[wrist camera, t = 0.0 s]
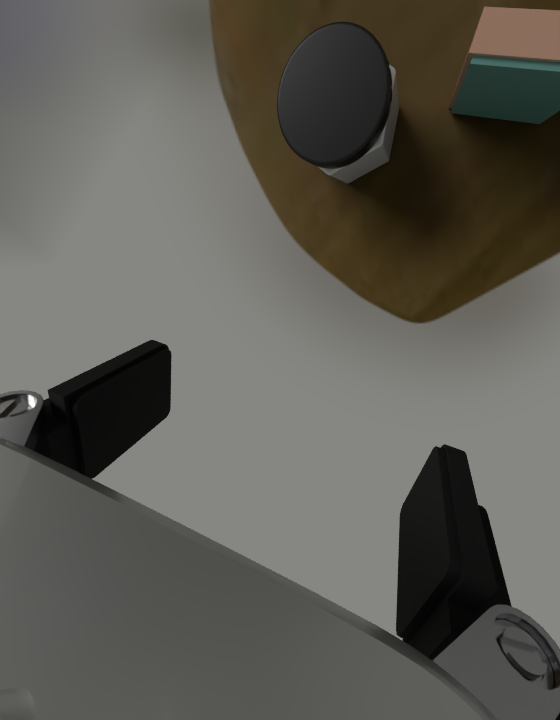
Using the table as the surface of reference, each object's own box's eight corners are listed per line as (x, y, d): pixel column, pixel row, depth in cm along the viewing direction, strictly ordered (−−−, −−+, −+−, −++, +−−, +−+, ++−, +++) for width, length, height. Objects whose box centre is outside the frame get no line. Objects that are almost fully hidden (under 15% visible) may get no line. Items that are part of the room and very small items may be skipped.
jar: (419, 118, 31) (424, 70, 20) (362, 198, 35) (342, 191, 25) (346, 61, 31) (314, -15, 21) (298, 147, 35) (252, 120, 25)
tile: (457, 80, 29) (484, 6, 18) (558, 90, 27) (650, 15, 17) (446, 113, 30) (465, 61, 20) (542, 125, 28) (618, 74, 18)
